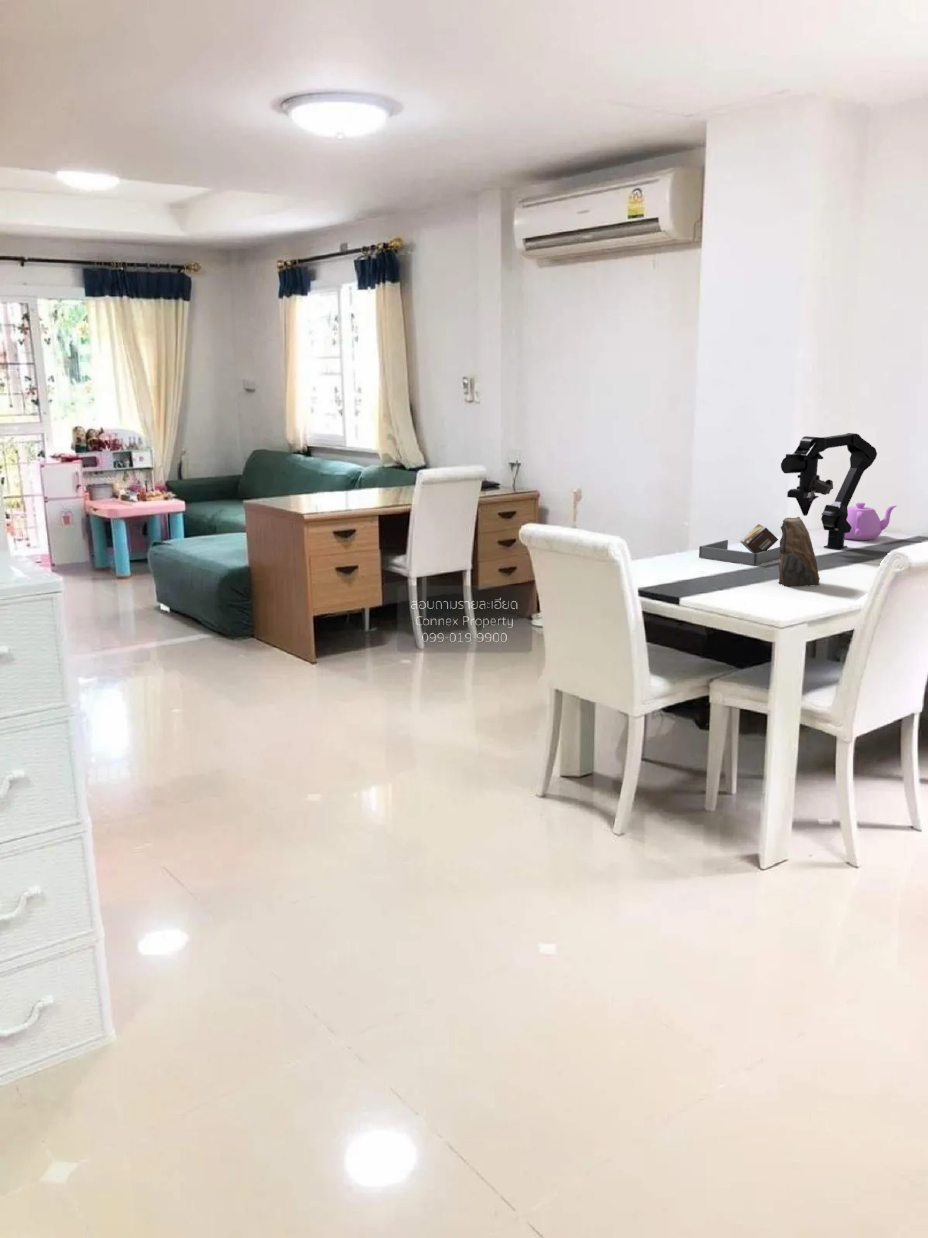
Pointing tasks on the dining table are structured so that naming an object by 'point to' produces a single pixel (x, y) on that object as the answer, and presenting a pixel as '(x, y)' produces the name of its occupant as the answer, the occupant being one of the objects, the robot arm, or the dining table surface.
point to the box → (736, 554)
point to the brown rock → (796, 555)
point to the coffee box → (758, 539)
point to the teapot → (866, 522)
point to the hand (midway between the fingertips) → (805, 515)
